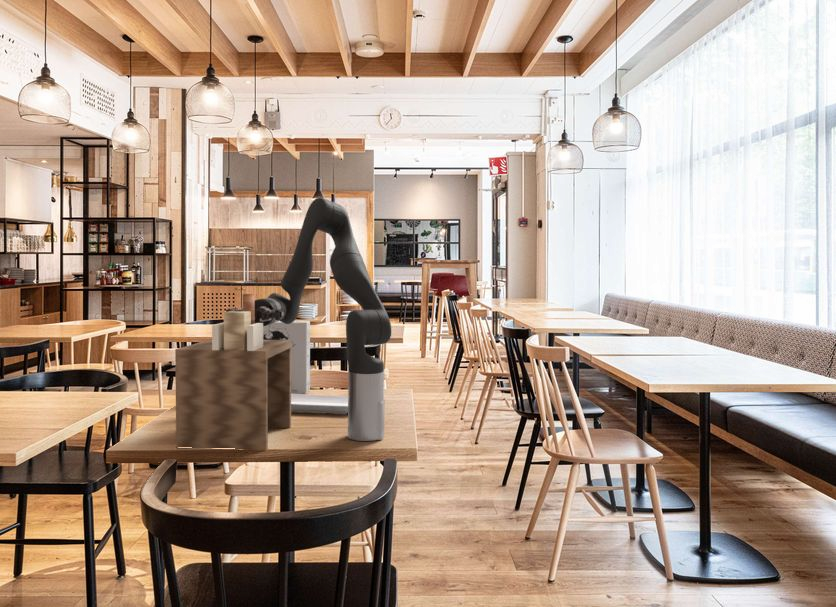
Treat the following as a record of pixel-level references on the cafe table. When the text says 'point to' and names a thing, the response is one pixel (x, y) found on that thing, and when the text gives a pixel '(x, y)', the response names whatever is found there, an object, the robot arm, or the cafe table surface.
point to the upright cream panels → (252, 336)
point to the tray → (319, 403)
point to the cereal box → (294, 350)
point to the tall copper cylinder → (239, 324)
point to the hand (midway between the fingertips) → (246, 316)
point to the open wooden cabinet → (232, 395)
